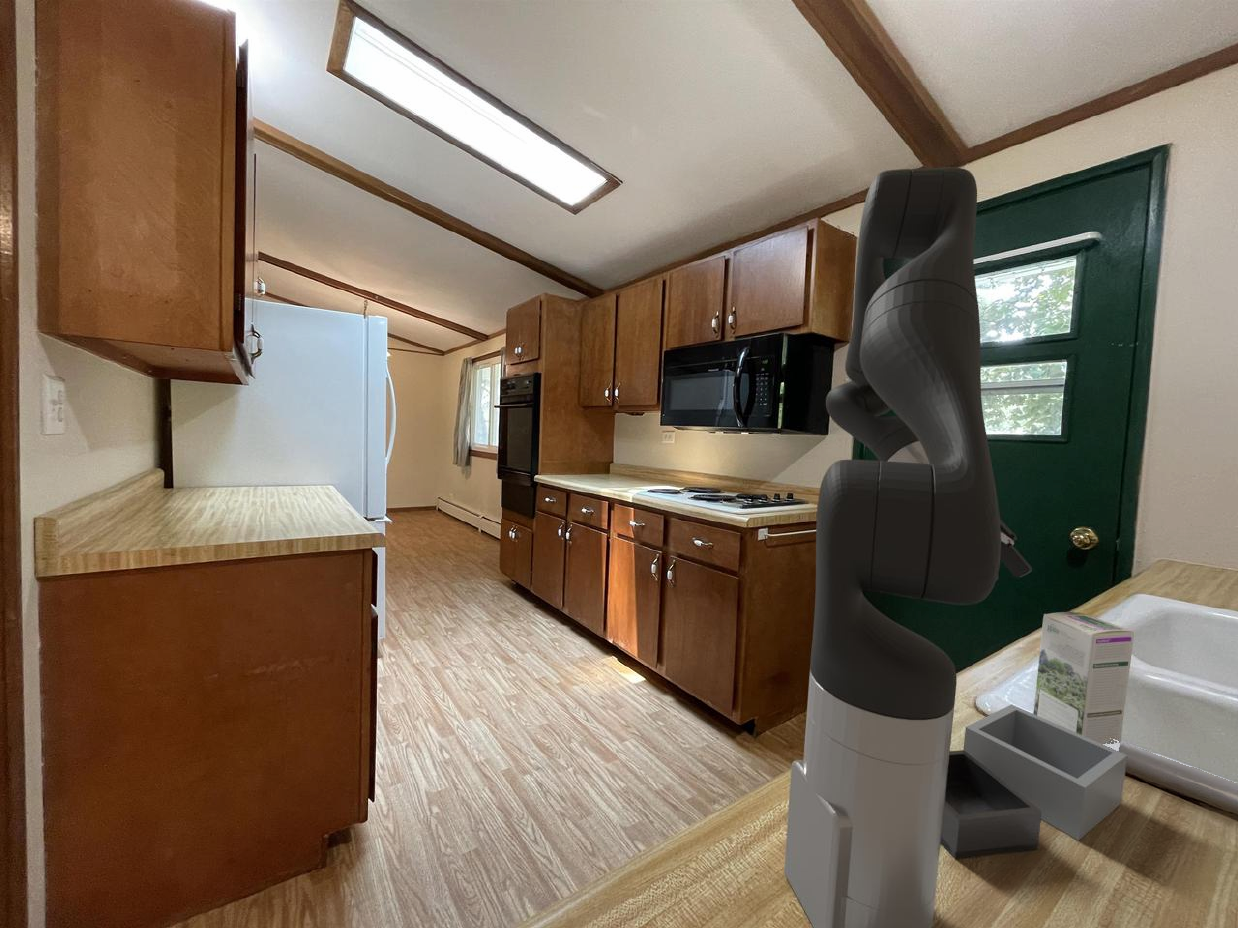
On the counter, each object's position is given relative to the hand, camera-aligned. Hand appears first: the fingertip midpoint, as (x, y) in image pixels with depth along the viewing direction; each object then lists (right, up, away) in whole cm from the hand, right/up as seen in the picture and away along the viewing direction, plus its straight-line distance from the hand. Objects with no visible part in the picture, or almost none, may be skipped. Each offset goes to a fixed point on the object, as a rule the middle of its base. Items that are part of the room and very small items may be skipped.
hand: (1008, 578), depth 64 cm
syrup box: (+3, -18, -6) cm, 19 cm away
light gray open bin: (-8, -18, -14) cm, 24 cm away
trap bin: (-19, -18, -18) cm, 31 cm away
